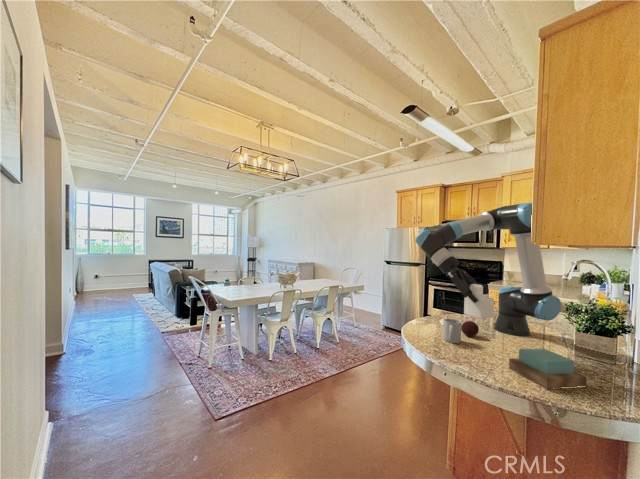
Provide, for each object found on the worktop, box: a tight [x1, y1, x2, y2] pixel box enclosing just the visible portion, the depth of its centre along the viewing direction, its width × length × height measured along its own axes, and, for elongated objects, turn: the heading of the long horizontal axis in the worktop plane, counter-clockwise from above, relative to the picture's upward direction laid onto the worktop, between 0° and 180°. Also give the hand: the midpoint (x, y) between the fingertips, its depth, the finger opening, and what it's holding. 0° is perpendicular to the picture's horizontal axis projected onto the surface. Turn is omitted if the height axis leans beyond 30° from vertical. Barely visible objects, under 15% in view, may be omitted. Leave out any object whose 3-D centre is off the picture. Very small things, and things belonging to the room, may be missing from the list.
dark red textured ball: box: [461, 320, 480, 337], centre depth 131 cm, size 7×8×7 cm
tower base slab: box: [508, 357, 588, 390], centre depth 91 cm, size 14×14×4 cm
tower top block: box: [518, 348, 575, 374], centre depth 91 cm, size 10×10×4 cm
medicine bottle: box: [463, 283, 495, 320], centre depth 104 cm, size 7×7×12 cm
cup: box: [442, 318, 462, 344], centre depth 122 cm, size 7×10×9 cm
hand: (488, 307), depth 101 cm, fingers closed on medicine bottle, 9 cm apart
